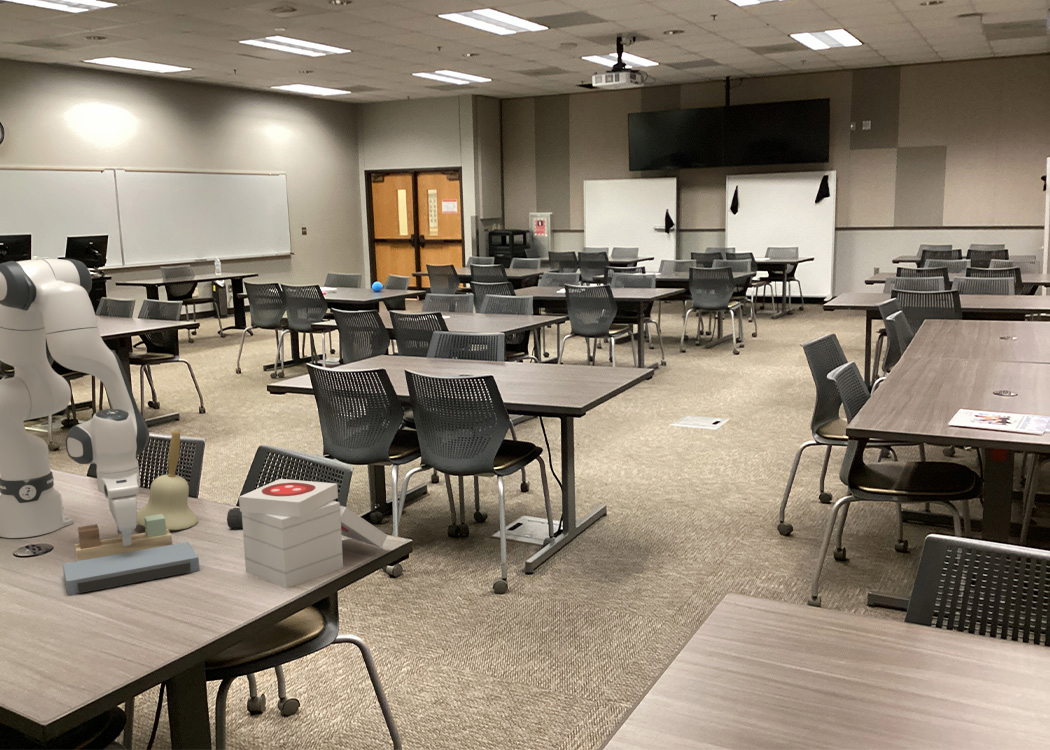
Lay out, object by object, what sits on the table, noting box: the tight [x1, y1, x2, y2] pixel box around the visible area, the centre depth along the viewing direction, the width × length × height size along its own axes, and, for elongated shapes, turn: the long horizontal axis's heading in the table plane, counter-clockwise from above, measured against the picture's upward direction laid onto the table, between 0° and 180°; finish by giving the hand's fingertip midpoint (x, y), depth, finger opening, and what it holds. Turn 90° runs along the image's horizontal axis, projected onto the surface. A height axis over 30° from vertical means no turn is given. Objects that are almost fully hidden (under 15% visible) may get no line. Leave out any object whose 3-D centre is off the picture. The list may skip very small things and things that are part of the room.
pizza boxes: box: [238, 478, 388, 589], centre depth 202 cm, size 19×30×18 cm, turn 140°
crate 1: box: [77, 523, 101, 549], centre depth 206 cm, size 4×4×4 cm
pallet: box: [74, 529, 173, 561], centre depth 210 cm, size 5×20×4 cm, turn 120°
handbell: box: [137, 430, 199, 531], centre depth 231 cm, size 15×15×25 cm
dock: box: [62, 541, 200, 596], centre depth 198 cm, size 13×26×3 cm, turn 120°
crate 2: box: [144, 514, 166, 538], centre depth 213 cm, size 4×4×4 cm
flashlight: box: [226, 507, 243, 530], centre depth 229 cm, size 15×5×5 cm, turn 86°
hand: (124, 539), depth 210 cm, fingers open, 8 cm apart
